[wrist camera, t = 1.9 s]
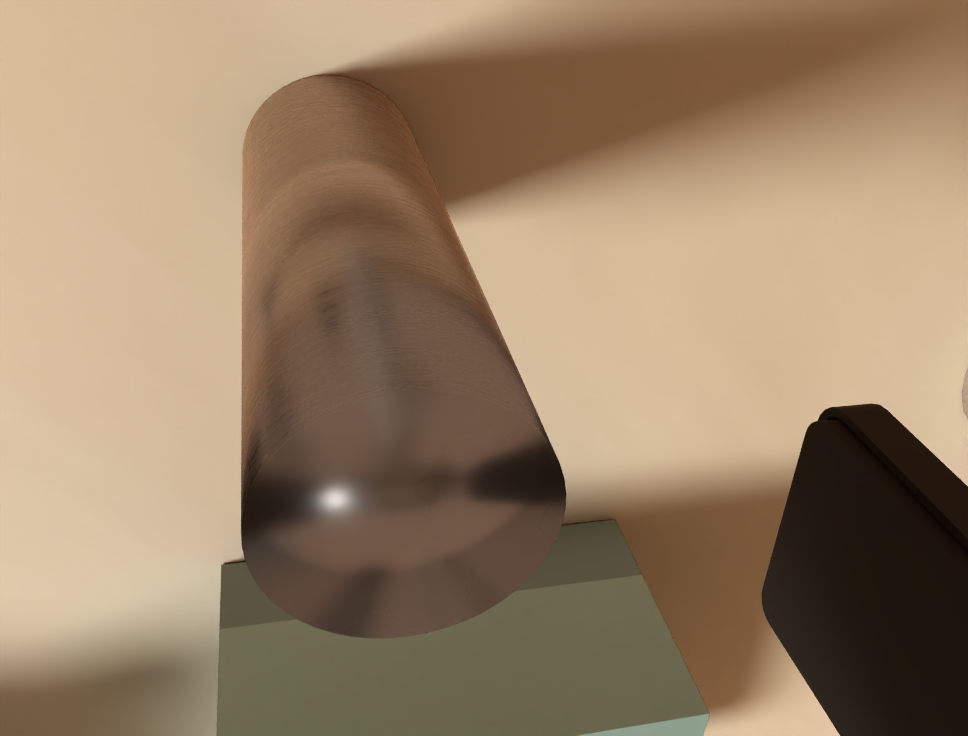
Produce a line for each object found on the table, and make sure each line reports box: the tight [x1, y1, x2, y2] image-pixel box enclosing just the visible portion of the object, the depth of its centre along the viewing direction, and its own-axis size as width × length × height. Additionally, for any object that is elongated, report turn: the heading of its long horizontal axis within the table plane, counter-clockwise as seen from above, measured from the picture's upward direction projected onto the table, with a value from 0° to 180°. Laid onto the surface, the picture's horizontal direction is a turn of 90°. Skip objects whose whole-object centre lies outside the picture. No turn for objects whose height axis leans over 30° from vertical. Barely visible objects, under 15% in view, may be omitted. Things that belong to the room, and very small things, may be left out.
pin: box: [241, 75, 566, 638], centre depth 13 cm, size 3×3×10 cm
